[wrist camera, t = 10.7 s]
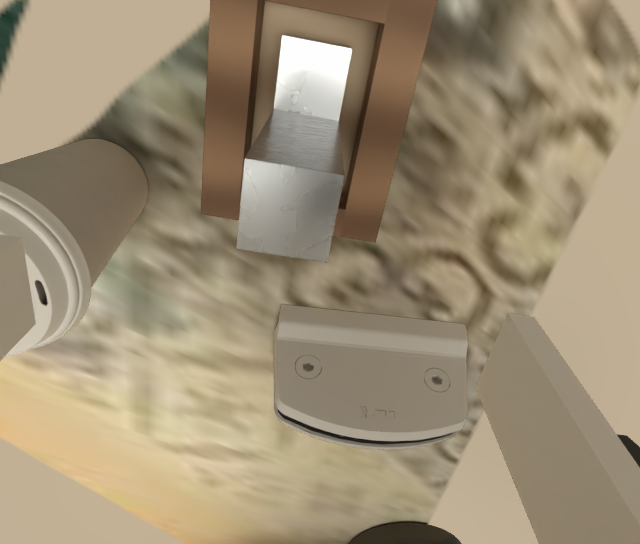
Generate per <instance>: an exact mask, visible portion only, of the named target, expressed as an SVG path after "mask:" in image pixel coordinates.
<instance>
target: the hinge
mask: <svg viewBox="0 0 640 544" xmlns="http://www.w3.org/2000/svg"><path fill="white" fill-rule="evenodd" d="M467 347H468V336H467V331H466V326H465V324H460V323H451V322H441V321H432V320H423V319H414V318H405V317H395V316H386V315H377V314H368V313H359V312H349V311H340V310H331V309H322V308H313V307H303V306H294V305H285V304H282V305H281V308H280V314H279V321H278V324H277V327H276V329H275V332H274V341H273V350H274V410H275V413H276V415H277V417H278V420H279V421H280V422H281V423H282V424H284V425H286V426H288V427H290V428H292V429H294V430H296V431H299V432H301V433H304V434H306V435H309V436H311V437H314V438H317V439H320V440H323V441H327V442H331V443H335V444H339V445H344V446H349V447H355V448H363V449H377V450H395V449H407V448H414V447H421V446H425V445H430V444H434V443H437V442H440V441H444V440H447V439H450V438H452V437H454V436H455V435H456V434H457V433H458V431H459V430H460V429H461V428H462V427H463V426H464V424H465V421H466V418H467V416H468V399H467V366H466V356H467Z"/></svg>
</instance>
